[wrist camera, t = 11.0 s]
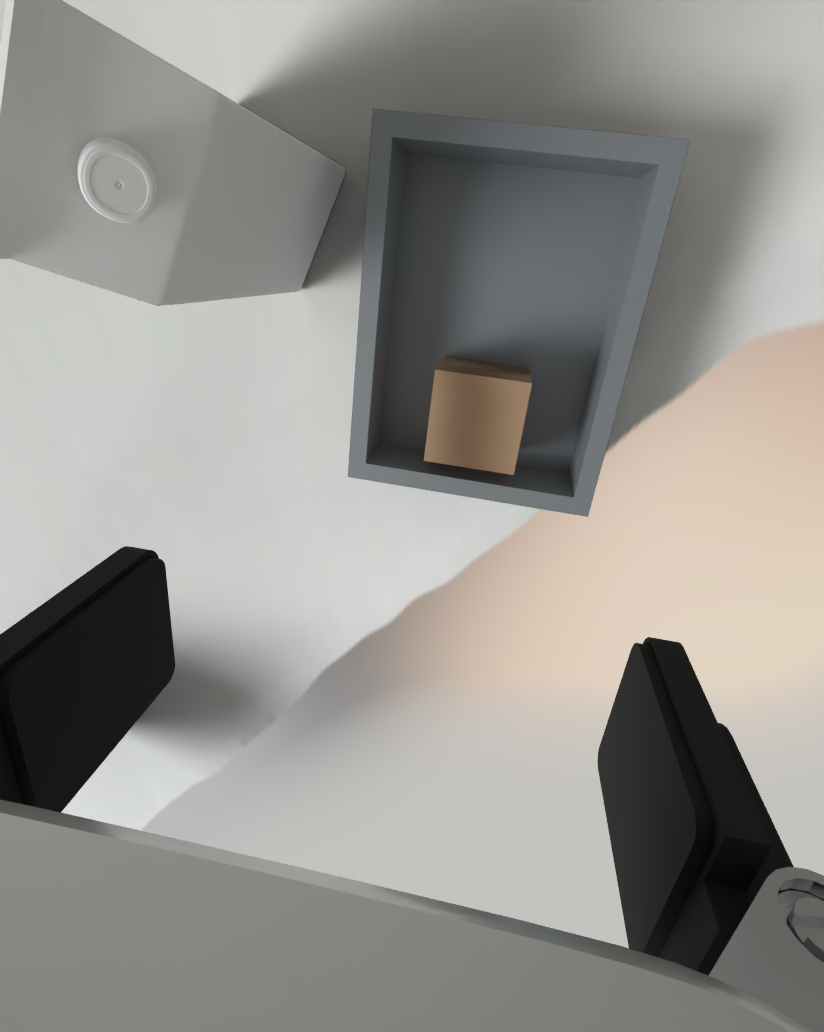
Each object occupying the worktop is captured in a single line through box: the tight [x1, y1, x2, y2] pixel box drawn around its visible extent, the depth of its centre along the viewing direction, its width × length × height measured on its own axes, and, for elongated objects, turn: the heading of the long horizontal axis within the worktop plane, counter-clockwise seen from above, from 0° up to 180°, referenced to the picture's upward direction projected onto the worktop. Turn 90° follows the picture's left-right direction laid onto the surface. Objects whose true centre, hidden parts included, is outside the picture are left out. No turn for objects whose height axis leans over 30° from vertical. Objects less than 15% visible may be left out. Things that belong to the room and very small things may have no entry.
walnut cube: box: [424, 356, 532, 475], centre depth 32 cm, size 5×5×5 cm
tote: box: [348, 109, 690, 517], centre depth 31 cm, size 14×18×5 cm
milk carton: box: [0, 0, 345, 306], centre depth 24 cm, size 7×7×19 cm
